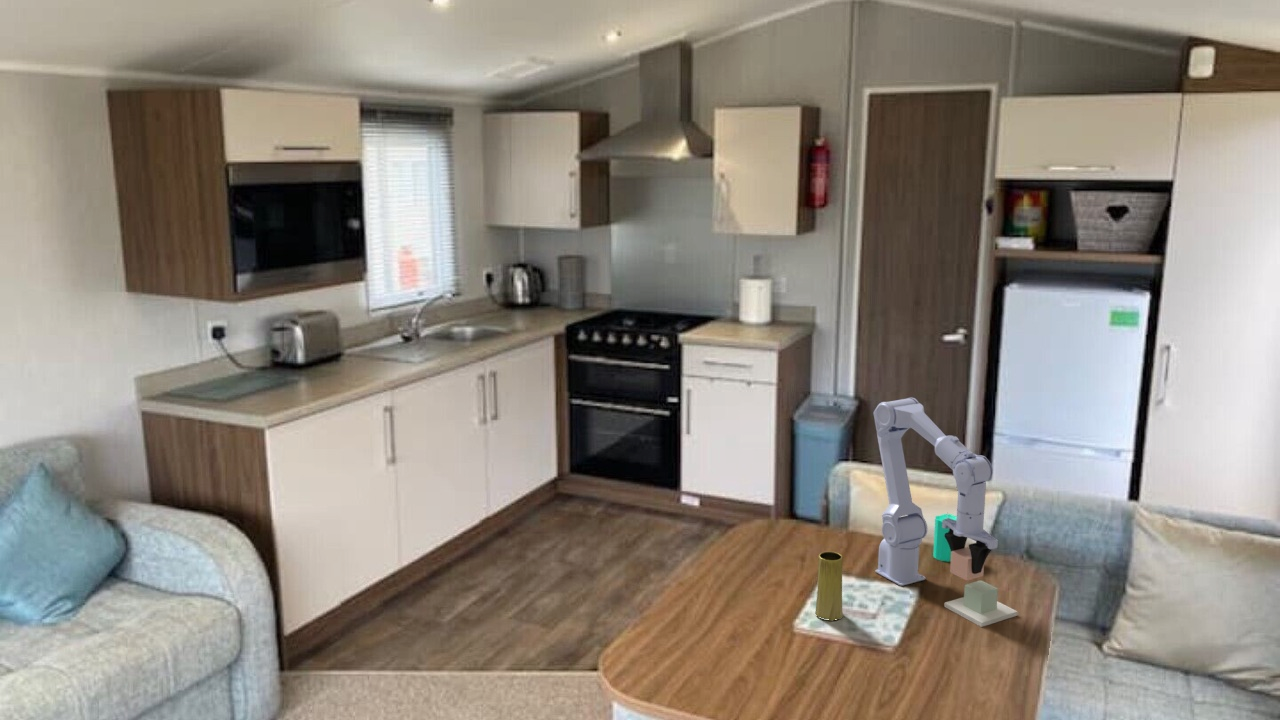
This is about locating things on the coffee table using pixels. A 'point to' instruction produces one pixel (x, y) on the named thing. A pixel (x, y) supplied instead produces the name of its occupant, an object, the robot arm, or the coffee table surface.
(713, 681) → the coffee table surface
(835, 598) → the vase
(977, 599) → the brick bottom
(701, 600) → the coffee table surface
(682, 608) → the coffee table surface
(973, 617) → the base plate
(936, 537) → the candle
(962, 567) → the brick top
